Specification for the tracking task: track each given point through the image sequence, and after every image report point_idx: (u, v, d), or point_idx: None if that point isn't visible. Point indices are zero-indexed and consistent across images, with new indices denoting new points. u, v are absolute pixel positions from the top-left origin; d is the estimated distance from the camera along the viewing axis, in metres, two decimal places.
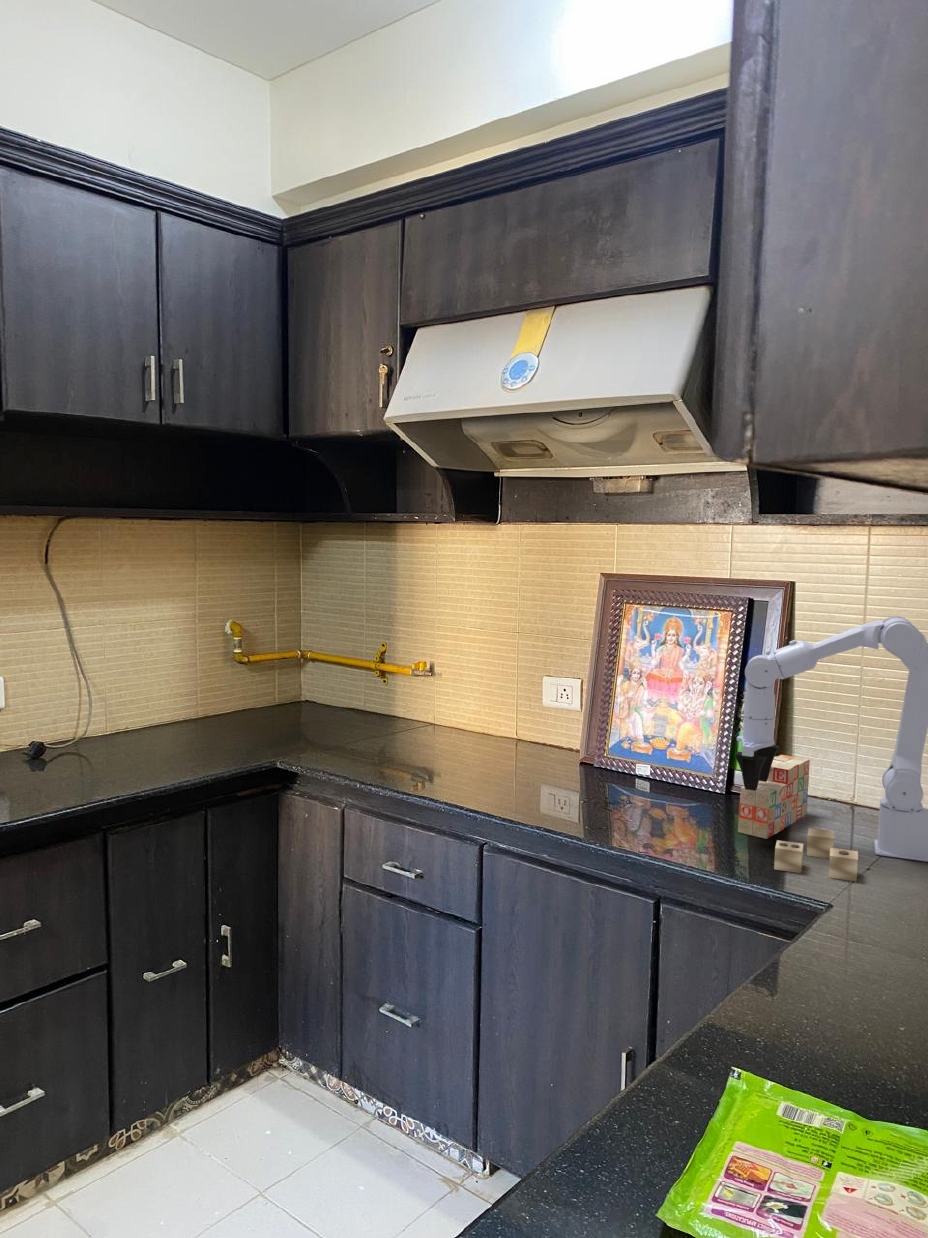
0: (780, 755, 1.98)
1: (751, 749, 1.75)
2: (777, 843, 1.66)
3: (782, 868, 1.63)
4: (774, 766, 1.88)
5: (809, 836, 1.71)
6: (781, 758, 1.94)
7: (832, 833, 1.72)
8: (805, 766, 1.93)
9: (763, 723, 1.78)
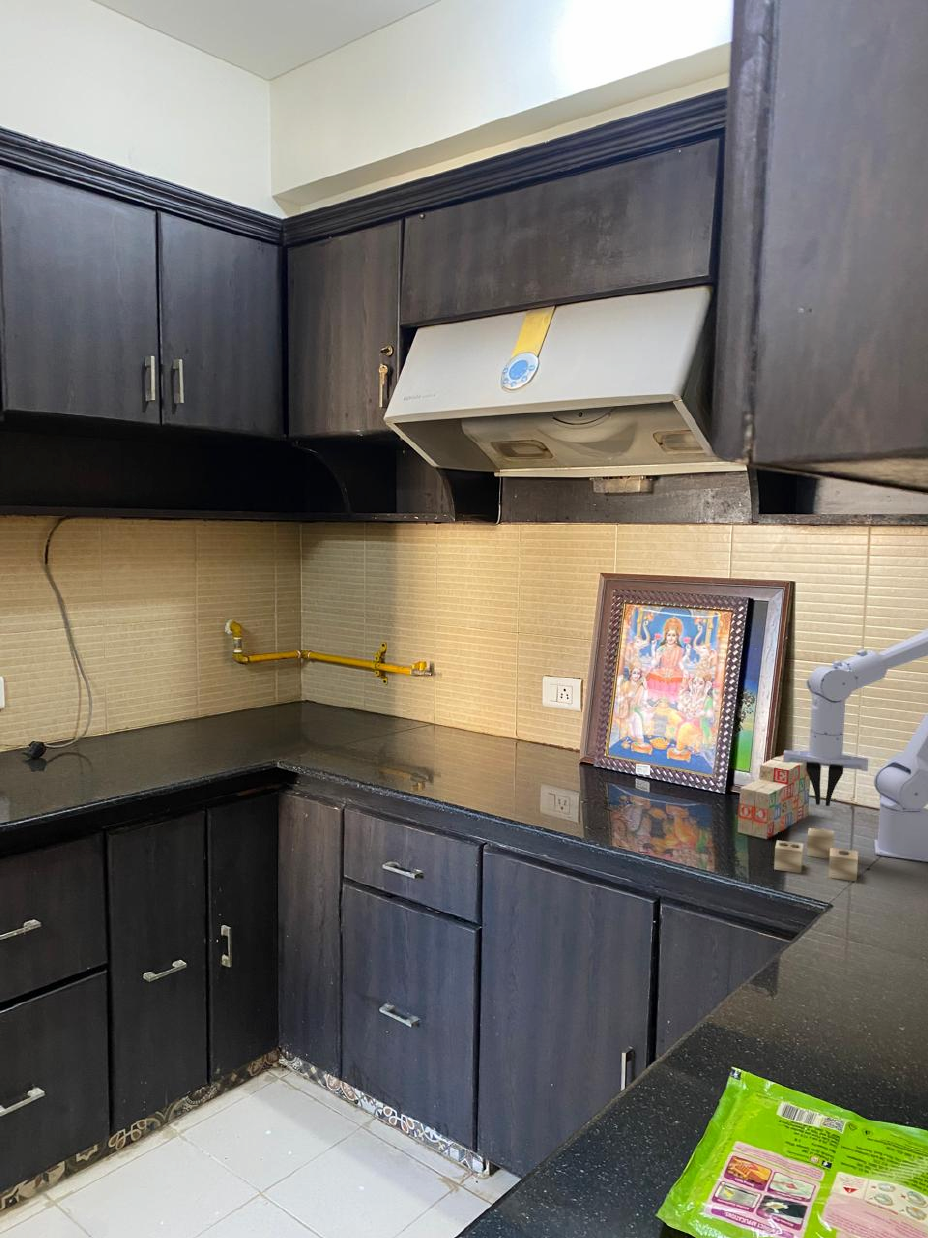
0: (782, 755, 1.97)
1: None
2: (777, 843, 1.66)
3: (782, 868, 1.63)
4: (775, 766, 1.88)
5: (809, 836, 1.71)
6: (782, 758, 1.94)
7: (832, 833, 1.72)
8: None
9: (812, 735, 1.70)
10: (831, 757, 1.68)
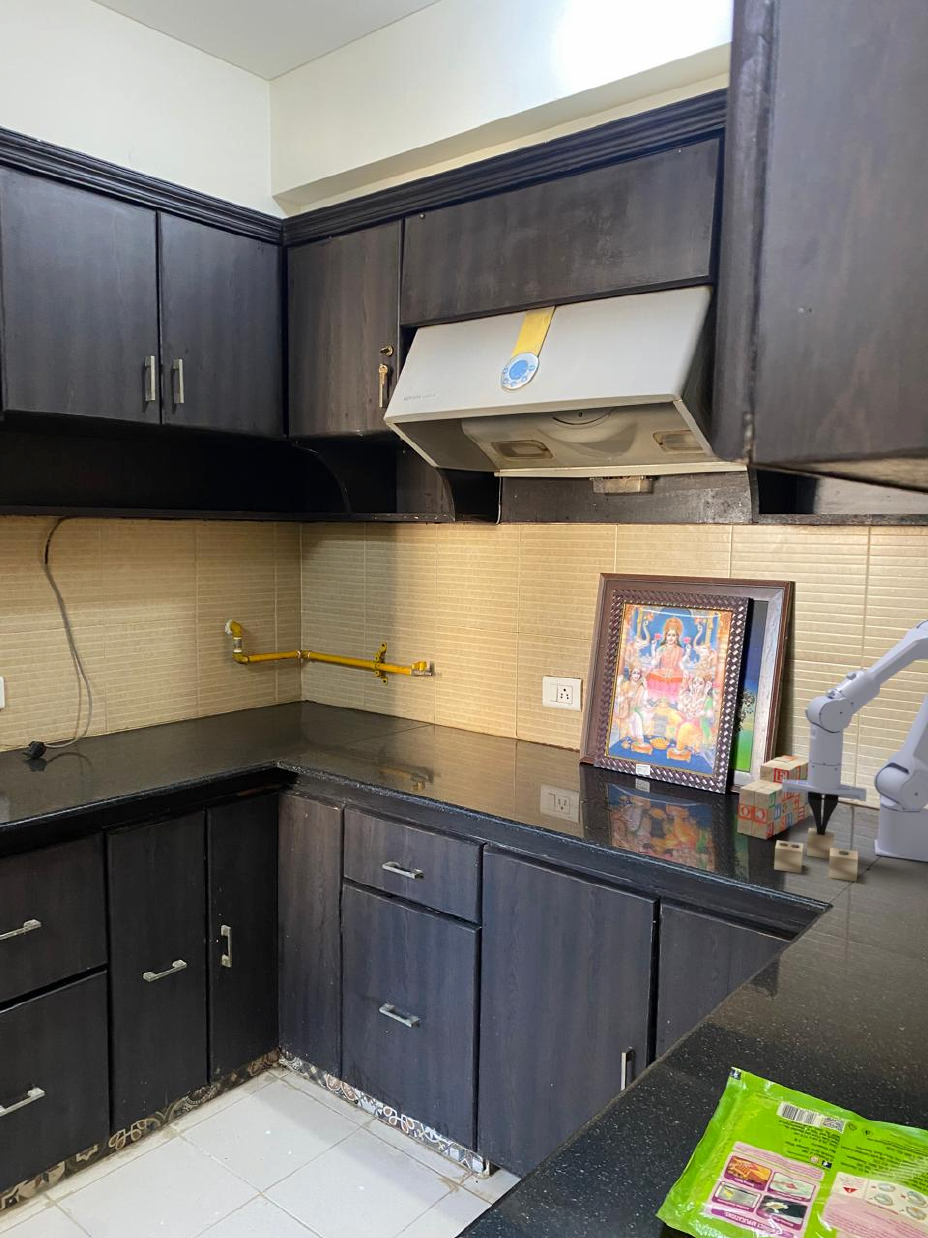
0: (783, 756, 1.97)
1: (782, 783, 1.73)
2: (777, 843, 1.66)
3: (782, 868, 1.63)
4: (775, 767, 1.88)
5: (809, 836, 1.71)
6: (783, 759, 1.94)
7: (832, 833, 1.72)
8: None
9: (810, 765, 1.70)
10: (829, 787, 1.68)
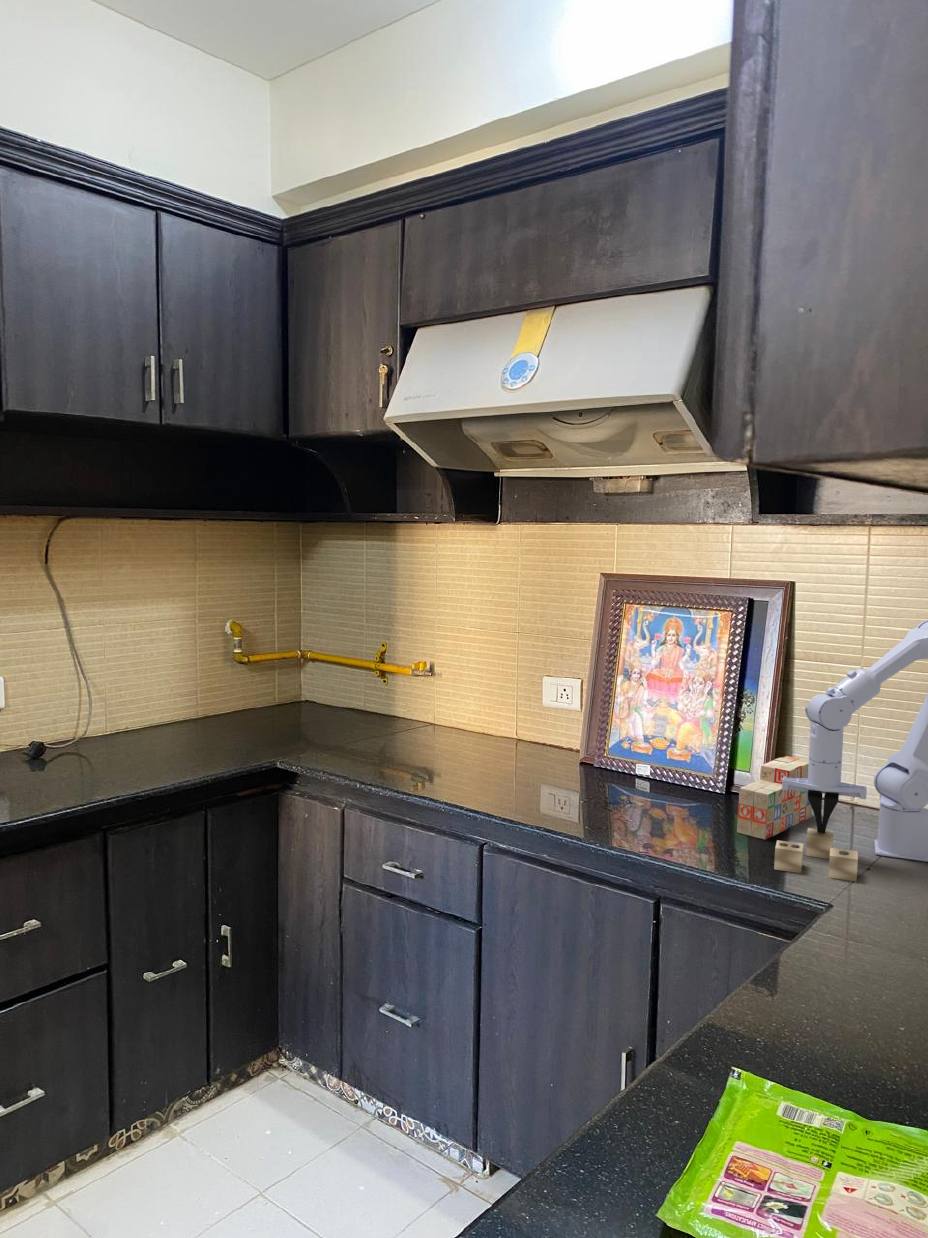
0: (785, 756, 1.97)
1: (782, 782, 1.73)
2: (777, 843, 1.66)
3: (782, 868, 1.63)
4: (776, 767, 1.87)
5: (808, 836, 1.71)
6: (785, 759, 1.93)
7: (831, 833, 1.72)
8: None
9: (810, 763, 1.70)
10: (830, 785, 1.68)
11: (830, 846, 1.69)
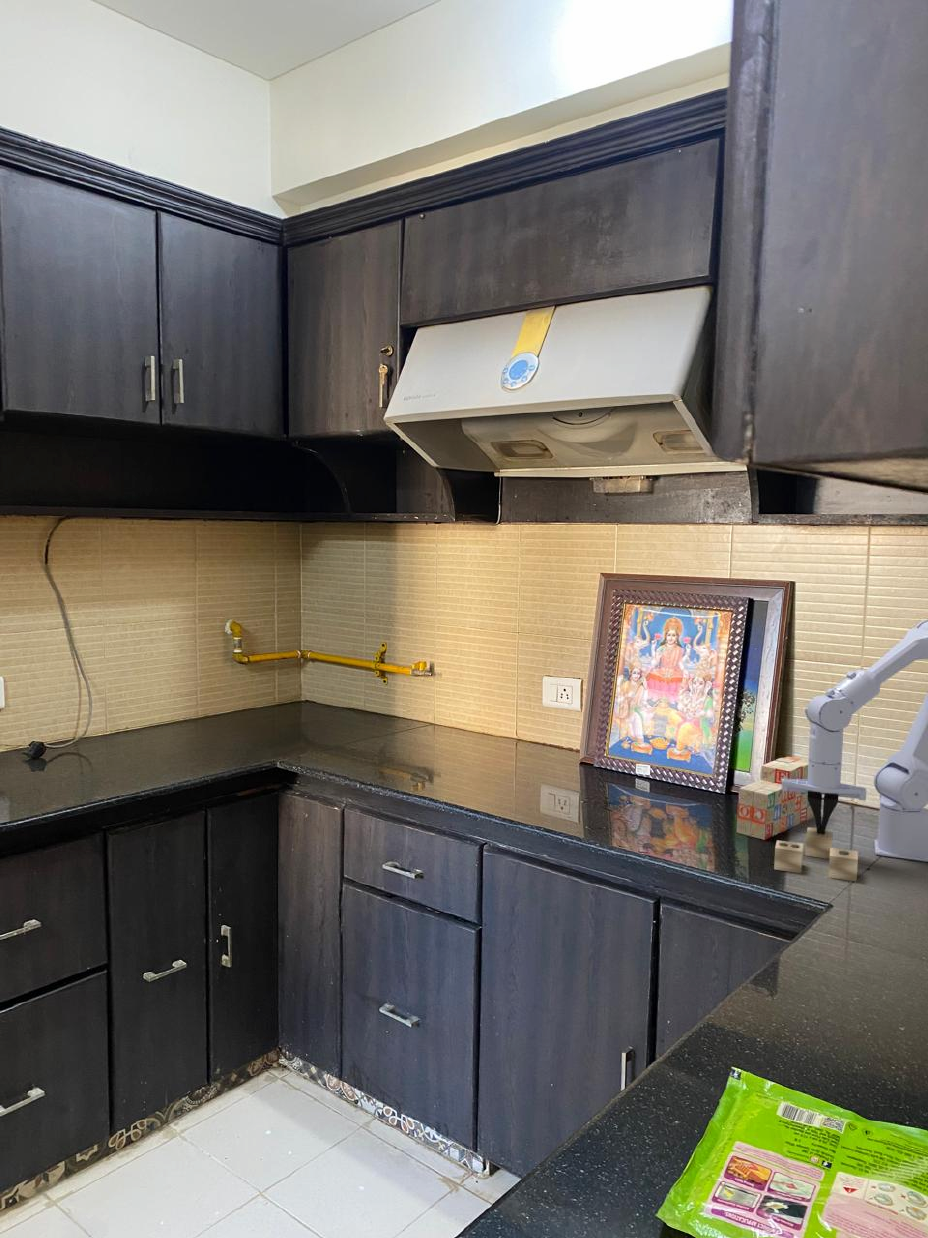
0: (787, 757, 1.96)
1: None
2: (777, 843, 1.66)
3: (782, 868, 1.63)
4: (776, 767, 1.87)
5: (808, 835, 1.71)
6: (786, 760, 1.93)
7: (831, 833, 1.72)
8: None
9: (810, 764, 1.70)
10: (829, 786, 1.68)
11: (830, 845, 1.69)
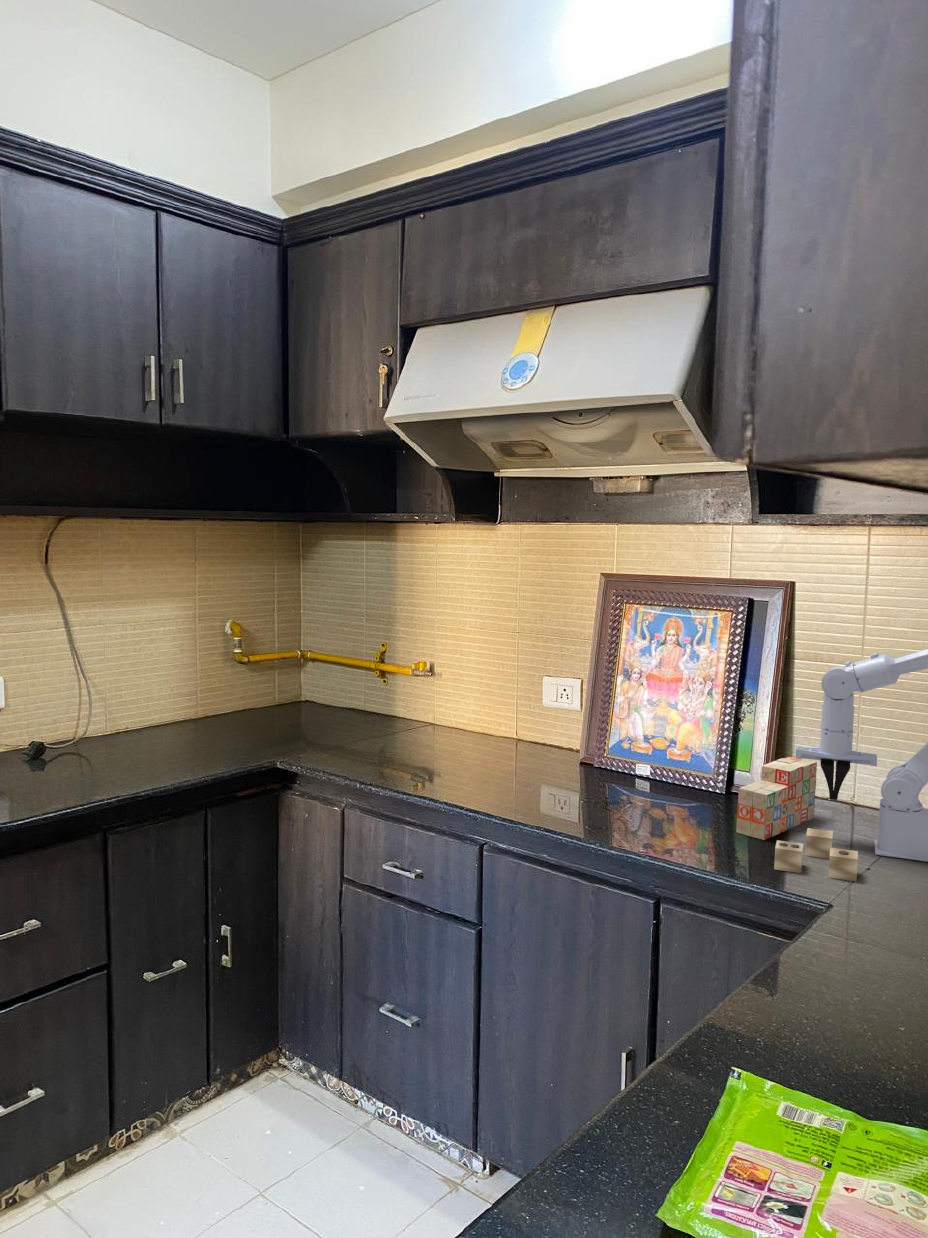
0: (788, 757, 1.96)
1: None
2: (777, 843, 1.66)
3: (782, 868, 1.63)
4: (776, 767, 1.87)
5: (808, 836, 1.71)
6: (787, 760, 1.93)
7: (831, 833, 1.72)
8: (811, 769, 1.91)
9: (823, 732, 1.77)
10: (842, 753, 1.75)
11: (830, 846, 1.69)
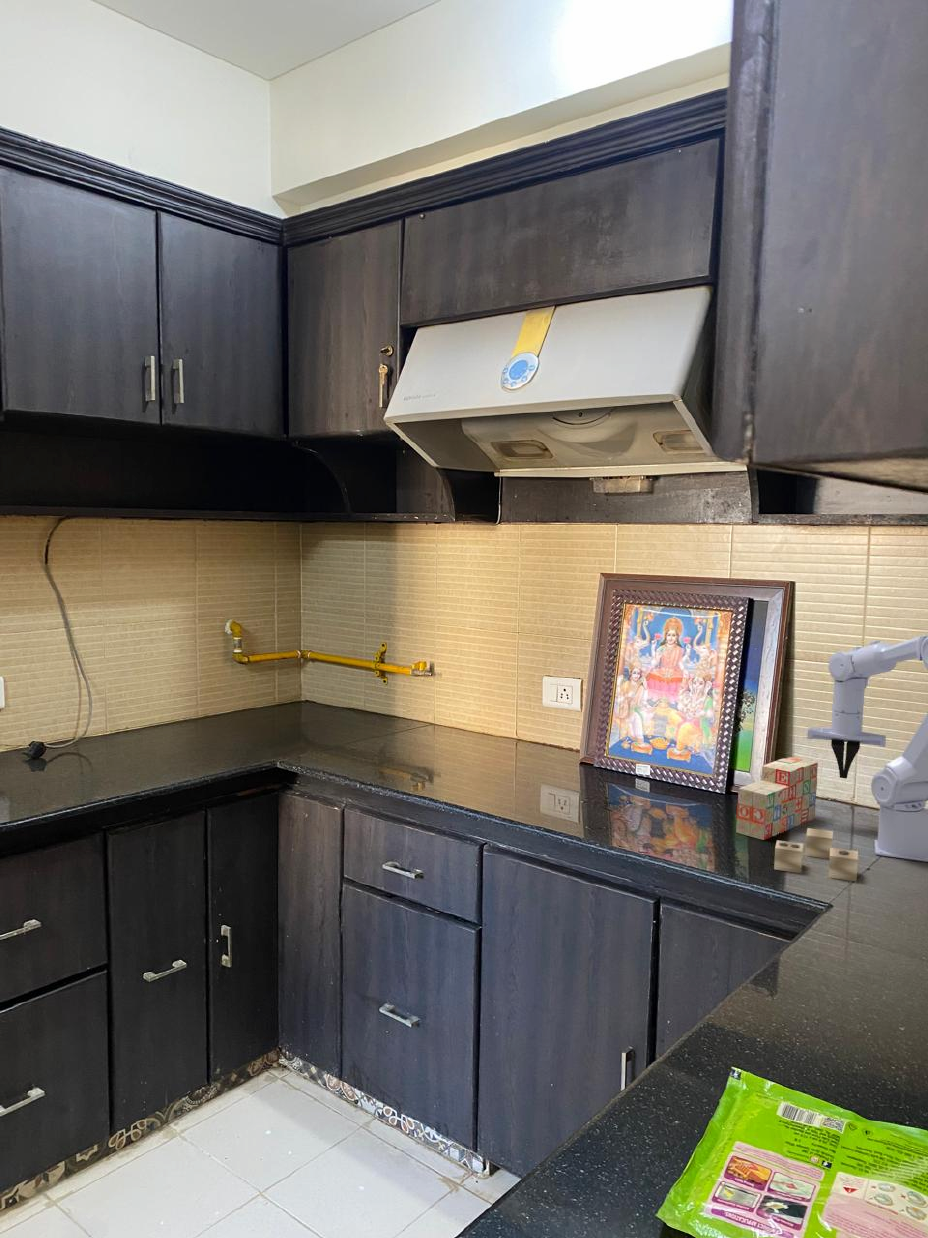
0: (789, 757, 1.96)
1: None
2: (777, 843, 1.66)
3: (782, 868, 1.63)
4: (777, 768, 1.87)
5: (808, 836, 1.71)
6: (788, 760, 1.93)
7: (831, 833, 1.72)
8: (812, 769, 1.91)
9: (834, 714, 1.85)
10: (852, 734, 1.83)
11: (830, 846, 1.69)
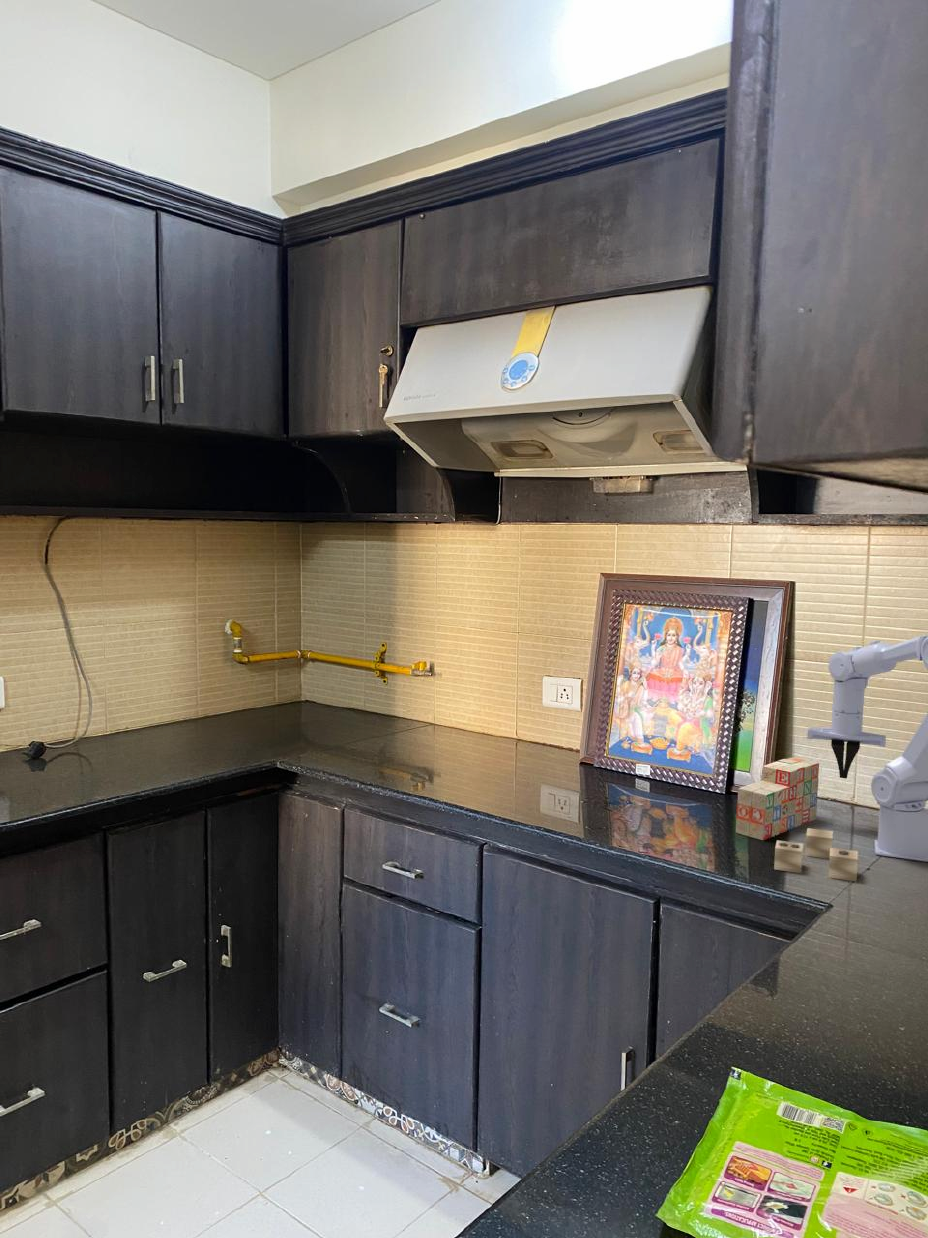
0: (790, 758, 1.96)
1: None
2: (777, 843, 1.66)
3: (782, 868, 1.63)
4: (777, 768, 1.86)
5: (808, 836, 1.71)
6: (789, 760, 1.92)
7: (831, 833, 1.72)
8: (813, 769, 1.91)
9: (834, 714, 1.85)
10: (852, 734, 1.83)
11: (830, 846, 1.69)
